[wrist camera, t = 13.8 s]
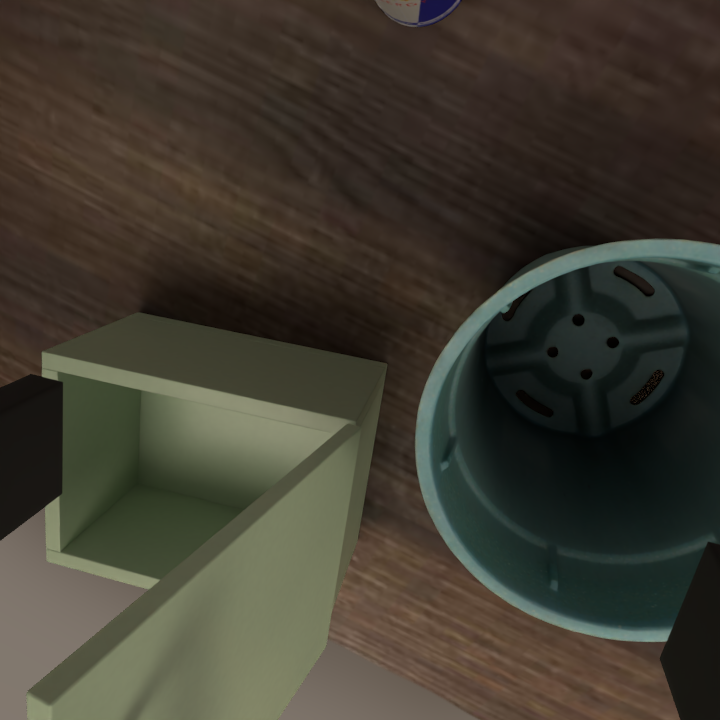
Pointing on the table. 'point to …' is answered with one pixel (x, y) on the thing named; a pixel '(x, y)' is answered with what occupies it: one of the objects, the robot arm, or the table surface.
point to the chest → (190, 438)
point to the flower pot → (583, 437)
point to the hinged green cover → (223, 613)
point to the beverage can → (417, 11)
